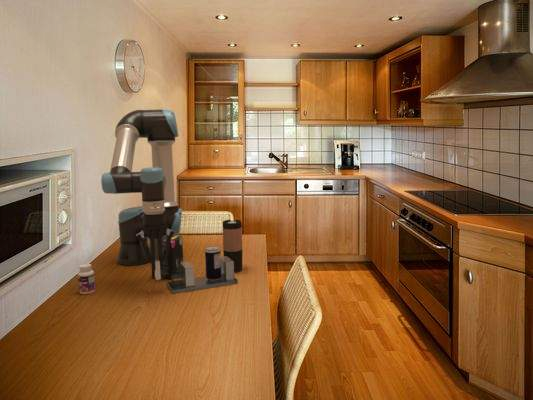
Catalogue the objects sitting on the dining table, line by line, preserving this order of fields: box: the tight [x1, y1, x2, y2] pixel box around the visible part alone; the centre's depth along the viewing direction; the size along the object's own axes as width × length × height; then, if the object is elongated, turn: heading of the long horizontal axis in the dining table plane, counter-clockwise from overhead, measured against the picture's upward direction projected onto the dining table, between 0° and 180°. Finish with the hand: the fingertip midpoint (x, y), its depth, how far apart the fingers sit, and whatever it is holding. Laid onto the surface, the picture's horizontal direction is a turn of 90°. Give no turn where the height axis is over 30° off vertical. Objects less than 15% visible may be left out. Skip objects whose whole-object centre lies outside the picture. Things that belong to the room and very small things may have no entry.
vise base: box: [166, 255, 239, 295], centre depth 170 cm, size 10×24×8 cm, turn 114°
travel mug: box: [222, 219, 243, 274], centre depth 185 cm, size 8×8×20 cm
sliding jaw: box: [171, 260, 195, 287], centre depth 167 cm, size 8×7×7 cm
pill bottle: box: [77, 263, 96, 295], centre depth 165 cm, size 5×5×10 cm
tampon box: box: [151, 235, 184, 280], centre depth 182 cm, size 11×9×15 cm
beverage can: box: [204, 245, 222, 281], centre depth 172 cm, size 6×6×12 cm
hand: (157, 278), depth 164 cm, fingers closed
